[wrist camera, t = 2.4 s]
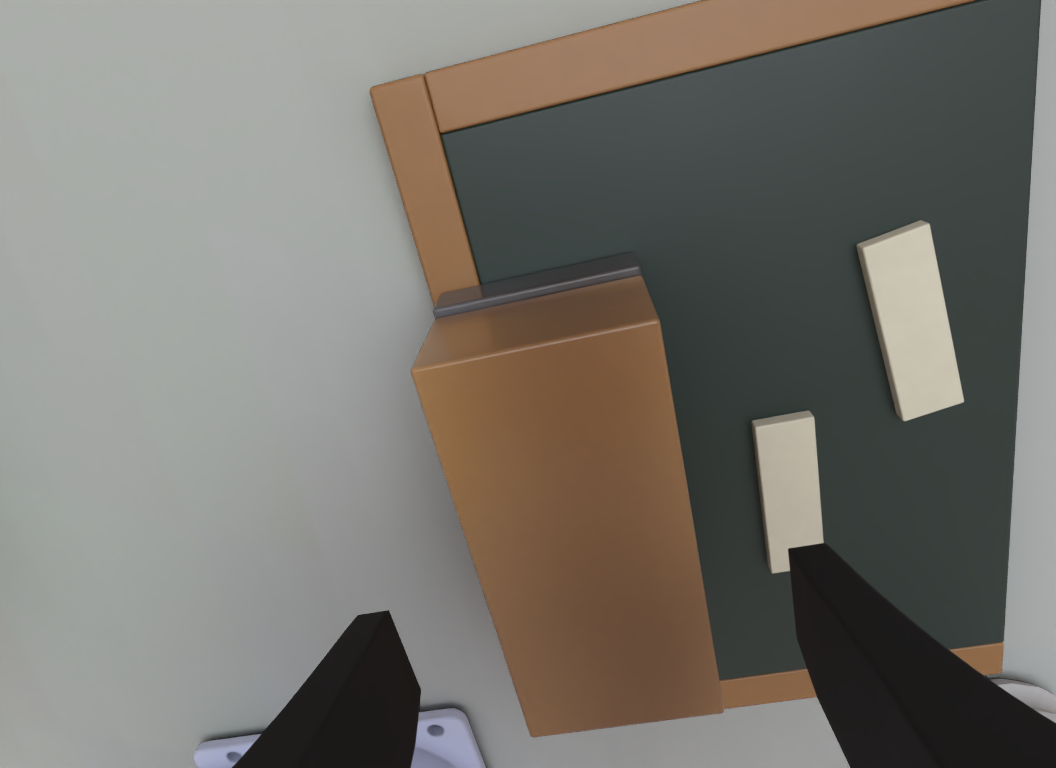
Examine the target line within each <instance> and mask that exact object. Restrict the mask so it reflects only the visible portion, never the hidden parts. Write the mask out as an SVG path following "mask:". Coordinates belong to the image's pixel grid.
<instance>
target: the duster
mask: <svg viewBox="0 0 1056 768" xmlns="http://www.w3.org/2000/svg"><path fill="white" fill-rule="evenodd" d="M433 313H434V317H435V321H434V323H433V325H432V327H431V329H430V331H429V333H428V335H427V337H426V339H425V341H424V343H423V345H422V347H421V349H420V352H419V354H418V356H417V358H416V360H415V362H414V364H413V366H412V368H411V375H412V378H413V381H414V384H415V387H416V390H417V393H418V396H419V399H420V402H421V405H422V408H423V411H424V414H425V417H426V420H427V423H428V426H429V429H430V432H431V435H432V439H433V442H434V445H435V448H436V451H437V454H438V457H439V460H440V463H441V466H442V469H443V472H444V475H445V478H446V481H447V484H448V487H449V490H450V493H451V496H452V499H453V502H454V505H455V508H456V511H457V514H458V517H459V521H460V524H461V527H462V530H463V533H464V536H465V539H466V542H467V545H468V548H469V551H470V554H471V557H472V560H473V563H474V566H475V569H476V572H477V575H478V578H479V581H480V584H481V587H482V590H483V593H484V596H485V600H486V603H487V606H488V609H489V612H490V615H491V618H492V621H493V624H494V627H495V630H496V633H497V636H498V639H499V642H500V645H501V648H502V651H503V654H504V657H505V660H506V663H507V666H508V669H509V672H510V675H511V678H512V682H513V685H514V688H515V691H516V694H517V697H518V700H519V703H520V706H521V709H522V712H523V715H524V718H525V721H526V724H527V727H528V730H529V733H530V736H531V737H541V736H548V735H556V734H564V733H572V732H579V731H587V730H595V729H603V728H610V727H618V726H626V725H634V724H642V723H649V722H657V721H665V720H673V719H680V718H688V717H696V716H704V715H711V714H719V713H723V712H724V705H723V699H722V693H721V686H720V680H719V674H718V668H717V662H716V656H715V650H714V644H713V638H712V632H711V626H710V620H709V614H708V608H707V602H706V596H705V589H704V583H703V577H702V571H701V565H700V559H699V553H698V547H697V541H696V535H695V529H694V523H693V517H692V511H691V505H690V498H689V492H688V486H687V480H686V474H685V468H684V462H683V456H682V450H681V444H680V438H679V432H678V426H677V420H676V414H675V408H674V401H673V395H672V389H671V383H670V377H669V371H668V365H667V359H666V353H665V347H664V341H663V335H662V329H661V323H660V319H659V317H658V314H657V312H656V309H655V307H654V304H653V302H652V299H651V297H650V294H649V292H648V289H647V287H646V284H645V282H644V279H643V277H642V271H641V267H640V264H639V262H638V259H637V257H636V255H635V253H633V252H629V253H625V254H620V255H616V256H611V257H607V258H602V259H597V260H593V261H588V262H584V263H579V264H574V265H570V266H565V267H561V268H556V269H551V270H547V271H542V272H538V273H533V274H528V275H524V276H519V277H515V278H510V279H505V280H501V281H496V282H492V283H487V284H482V285H478V286H473V287H469V288H464V289H460V290H455V291H450V292H446V293H442V294H441V295H440V297H439V299H438V301H437V303H436V305H435V307H434V309H433Z"/></svg>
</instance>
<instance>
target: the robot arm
mask: <svg viewBox="0 0 1056 768" xmlns="http://www.w3.org/2000/svg"><path fill="white" fill-rule="evenodd" d="M788 555H789V565H790V575H791V585H792V596H793V606H794V616H795V626H796V637H797V640H798V643H799V646H800V649H801V652H802V655H803V658H804V661H805V664H806V667H807V670H808V673H809V676H810V678H811V681H812V684H813V687H814V690H815V693H816V695H817V698H818V700H819V702H820V704H821V706H822V708H823V711H824V713H825V715H826V717H827V719H828V721H829V723H830V725H831V728H832V730H833V732H834V734H835V736H836V738H837V740H838V742H839V745H840V747H841V749H842V751H843V753H844V755H845V757H846V759H847V761H848V763H849V766H850V768H1056V723H1055V722H1053V721H1052V720H1050V719H1048V718H1047V717H1045V716H1044V715H1042V714H1040V713H1039V712H1037V711H1036V710H1034V709H1033V708H1031V707H1030V706H1028V705H1027V704H1025V703H1024V702H1022V701H1020V700H1019V699H1017V698H1016V697H1014V696H1013V695H1011V694H1010V693H1008V692H1007V691H1005V690H1004V689H1002V688H1001V687H1000V686H998V685H997V684H995V683H994V682H992V681H991V680H990V679H988V678H987V677H985V676H984V675H983V674H981V673H980V672H978V671H977V670H976V669H974V668H973V667H971V666H970V665H969V664H967V663H966V662H965V661H963V660H962V659H961V658H959V657H958V656H957V655H955V654H954V653H953V652H951V651H950V650H949V649H947V648H946V647H945V646H944V645H942V644H941V643H940V642H938V641H937V640H936V639H935V638H933V637H932V636H931V635H930V634H928V633H927V632H926V631H925V630H923V629H922V628H921V627H920V626H919V625H917V624H916V623H915V622H914V621H913V620H911V619H910V618H909V617H908V616H907V615H905V614H904V613H903V612H902V611H900V610H899V609H898V608H897V607H896V606H895V605H893V604H892V603H891V602H890V601H889V600H888V599H886V598H885V597H884V596H883V595H882V594H881V593H880V592H879V591H877V590H876V589H875V588H874V587H873V586H872V585H871V584H870V583H869V582H867V581H866V580H865V579H864V578H863V577H862V576H861V575H860V574H859V573H858V572H857V571H856V570H854V569H853V568H852V567H851V566H850V565H849V564H848V563H847V562H846V561H845V560H844V559H843V558H842V557H841V556H840V555H839V554H838V553H837V552H836V551H835V550H834V549H833V548H832V547H830V546H829V545H827V544H826V543H820V544H814V545H808V546H801V547H795V548H788ZM420 695H421V689H420V686H419V684H418V681H417V679H416V676H415V674H414V672H413V669H412V667H411V664H410V662H409V659H408V657H407V654H406V652H405V649H404V647H403V644H402V642H401V639H400V637H399V634H398V632H397V630H396V627H395V625H394V622H393V620H392V617H391V615H390V612H389V610H388V611H382V612H375V613H369V614H362V615H358V616H357V617H356V618H355V619H354V620H353V622H352V623H351V624H350V625H349V627H348V628H347V629H346V630H345V632H344V633H343V634H342V635H341V637H340V638H339V639H338V640H337V642H336V643H335V644H334V646H333V647H332V648H331V649H330V651H329V652H328V653H327V655H326V656H325V657H324V659H323V660H322V661H321V662H320V664H319V665H318V666H317V667H316V669H315V670H314V671H313V673H312V674H311V675H310V676H309V678H308V679H307V680H306V681H305V683H304V684H303V685H302V686H301V688H300V689H299V690H298V691H297V693H296V694H295V695H294V696H293V698H292V699H291V700H290V701H289V703H288V704H287V705H286V706H285V708H284V709H283V710H282V711H281V712H280V713H279V715H278V716H277V717H276V718H275V719H274V720H273V721H272V723H271V724H270V725H269V726H268V727H267V728H266V730H265V731H264V732H263V733H262V734H256V735H249V736H241V737H234V738H227V739H219V740H212V741H206V742H203V743H200V744H199V745H198V747H197V749H196V751H195V752H194V755H193V759H194V762H195V764H196V765H197V767H198V768H486V767H485V764H484V761H483V759H482V756H481V753H480V751H479V748H478V745H477V743H476V740H475V737H474V735H473V732H472V729H471V727H470V724H469V721H468V719H467V717H466V715H465V714H464V713H463V712H462V711H460V710H458V709H455V708H446V709H439V710H432V711H424V712H419V706H420ZM436 725H439V726H436Z"/></svg>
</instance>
